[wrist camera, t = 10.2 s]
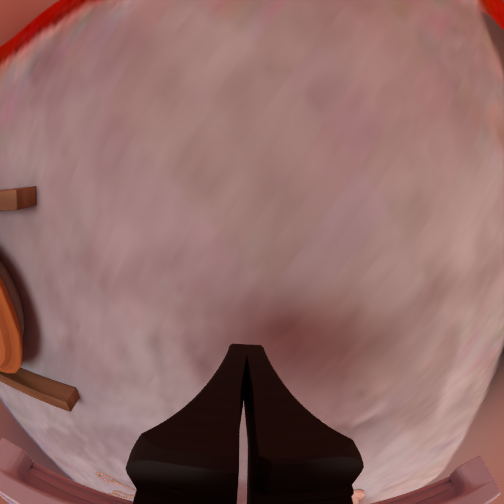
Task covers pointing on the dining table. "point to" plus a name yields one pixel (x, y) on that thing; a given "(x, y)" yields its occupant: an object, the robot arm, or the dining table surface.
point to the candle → (357, 496)
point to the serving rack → (22, 378)
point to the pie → (10, 324)
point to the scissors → (116, 490)
